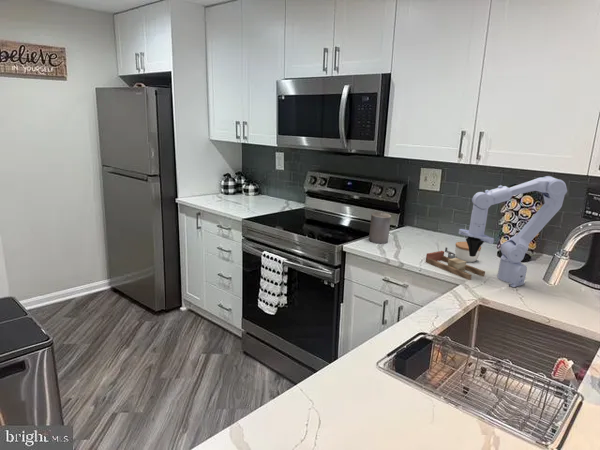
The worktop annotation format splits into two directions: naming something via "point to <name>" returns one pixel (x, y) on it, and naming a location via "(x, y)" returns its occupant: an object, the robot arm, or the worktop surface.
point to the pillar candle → (379, 228)
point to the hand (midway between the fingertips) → (472, 255)
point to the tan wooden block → (457, 264)
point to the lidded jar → (465, 252)
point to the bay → (437, 256)
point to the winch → (450, 254)
